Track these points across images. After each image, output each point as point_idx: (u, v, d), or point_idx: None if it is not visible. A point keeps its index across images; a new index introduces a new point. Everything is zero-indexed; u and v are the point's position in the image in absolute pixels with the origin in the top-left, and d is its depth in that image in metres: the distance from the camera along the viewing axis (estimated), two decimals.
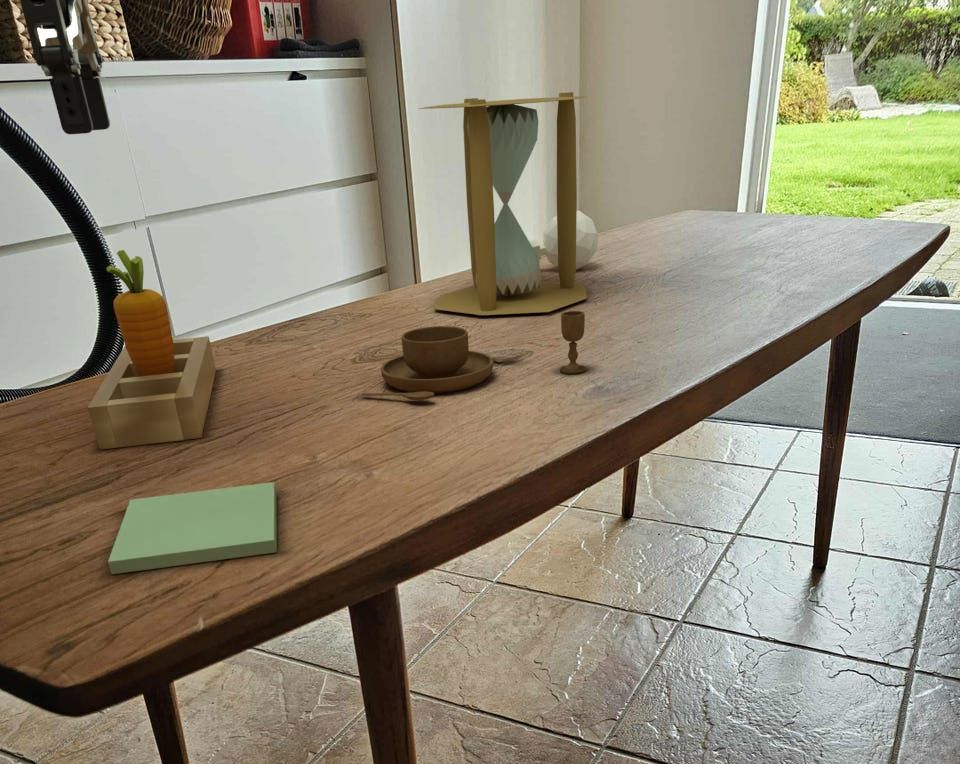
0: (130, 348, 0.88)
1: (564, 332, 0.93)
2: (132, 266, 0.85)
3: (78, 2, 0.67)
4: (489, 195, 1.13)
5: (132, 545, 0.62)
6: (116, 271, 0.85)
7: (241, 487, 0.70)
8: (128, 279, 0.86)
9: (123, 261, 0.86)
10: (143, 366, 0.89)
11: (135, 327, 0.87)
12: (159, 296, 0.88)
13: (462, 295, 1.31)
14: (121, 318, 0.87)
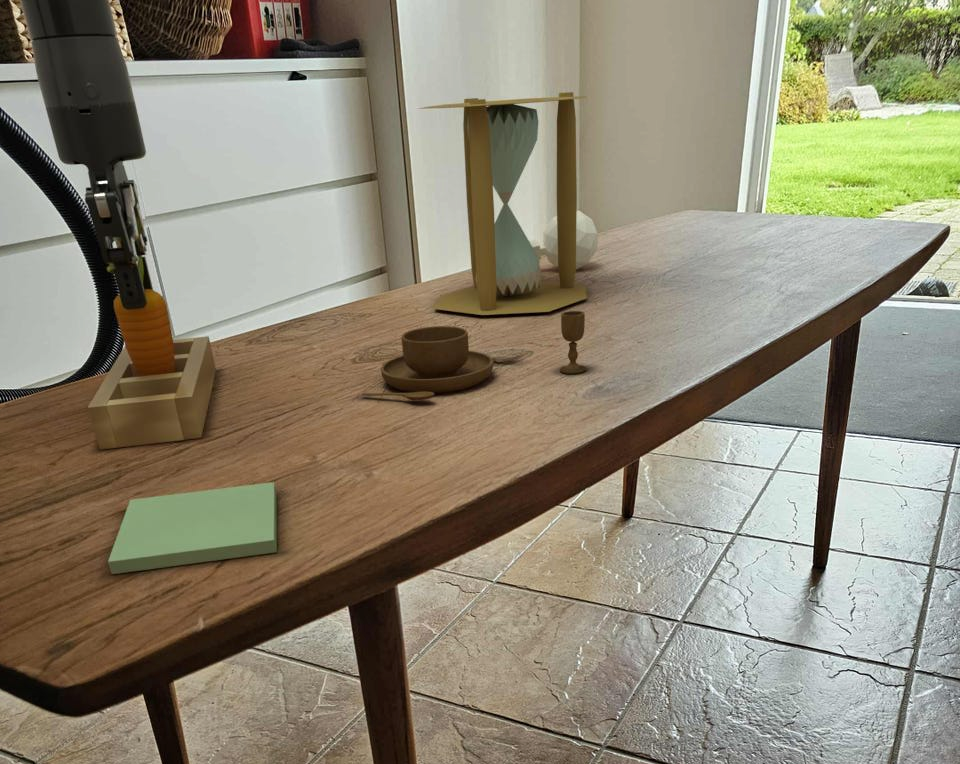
0: (130, 348, 0.88)
1: (564, 332, 0.93)
2: None
3: (133, 200, 0.82)
4: (489, 195, 1.13)
5: (132, 545, 0.62)
6: None
7: (241, 487, 0.70)
8: None
9: None
10: (143, 366, 0.89)
11: (135, 327, 0.87)
12: (159, 296, 0.88)
13: (462, 295, 1.31)
14: (121, 318, 0.87)
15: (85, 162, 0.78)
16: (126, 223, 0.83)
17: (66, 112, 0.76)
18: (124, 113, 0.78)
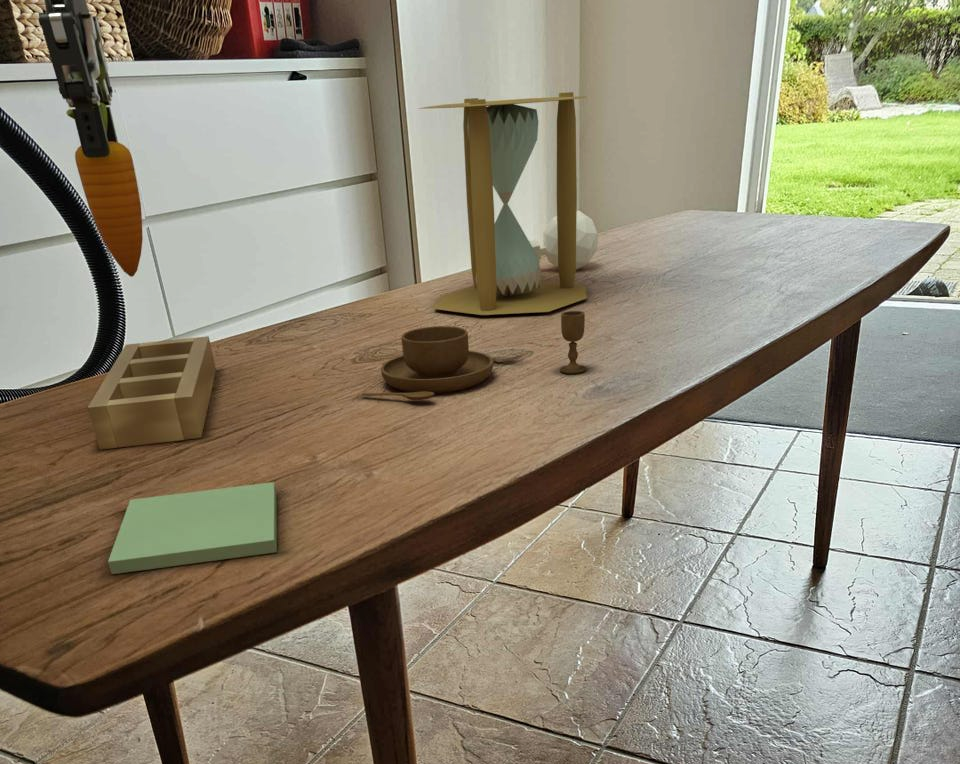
0: (93, 205, 0.82)
1: (564, 332, 0.93)
2: None
3: (93, 32, 0.75)
4: (489, 195, 1.13)
5: (132, 545, 0.62)
6: None
7: (241, 487, 0.70)
8: None
9: None
10: (107, 227, 0.83)
11: (98, 180, 0.80)
12: (124, 148, 0.81)
13: (462, 295, 1.31)
14: (83, 170, 0.80)
15: None
16: (86, 58, 0.76)
17: None
18: None
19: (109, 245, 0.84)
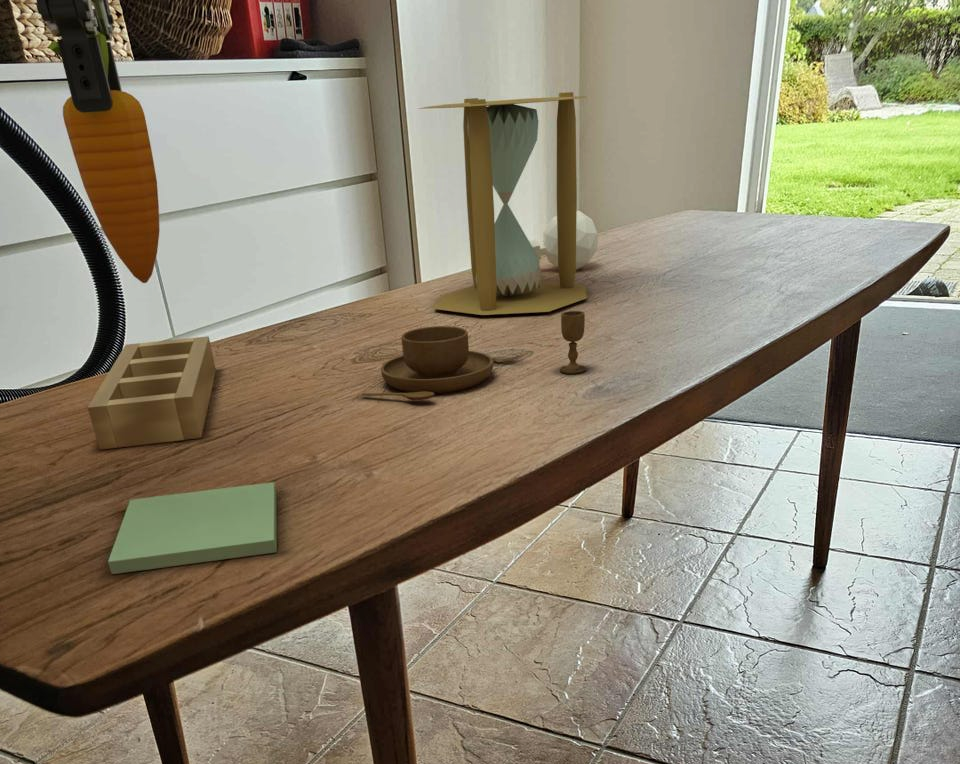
0: (90, 182, 0.57)
1: (564, 332, 0.93)
2: None
3: None
4: (489, 195, 1.13)
5: (132, 545, 0.62)
6: None
7: (241, 487, 0.70)
8: None
9: None
10: (110, 213, 0.58)
11: (96, 146, 0.56)
12: (134, 100, 0.57)
13: (462, 295, 1.31)
14: (74, 131, 0.56)
15: None
16: None
17: None
18: None
19: (113, 239, 0.60)
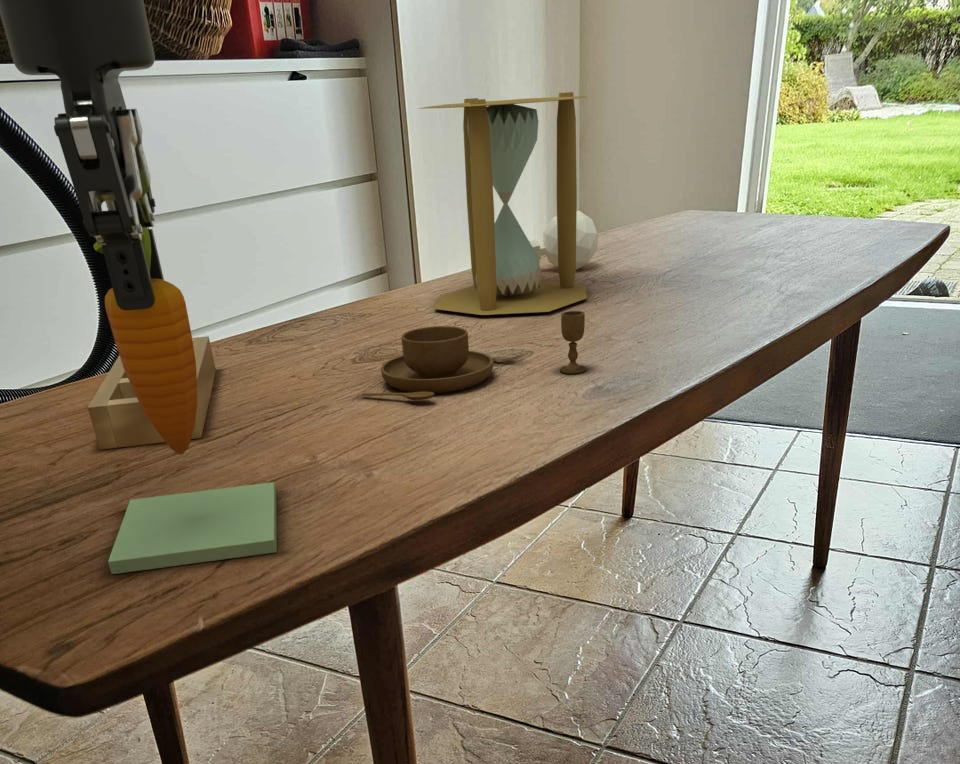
0: (130, 369, 0.58)
1: (564, 332, 0.93)
2: None
3: (134, 136, 0.51)
4: (489, 195, 1.13)
5: (132, 545, 0.62)
6: None
7: (241, 487, 0.70)
8: None
9: None
10: (150, 397, 0.59)
11: (138, 337, 0.56)
12: (175, 289, 0.57)
13: (462, 295, 1.31)
14: (116, 323, 0.56)
15: (55, 67, 0.47)
16: (123, 173, 0.52)
17: None
18: None
19: (152, 419, 0.60)
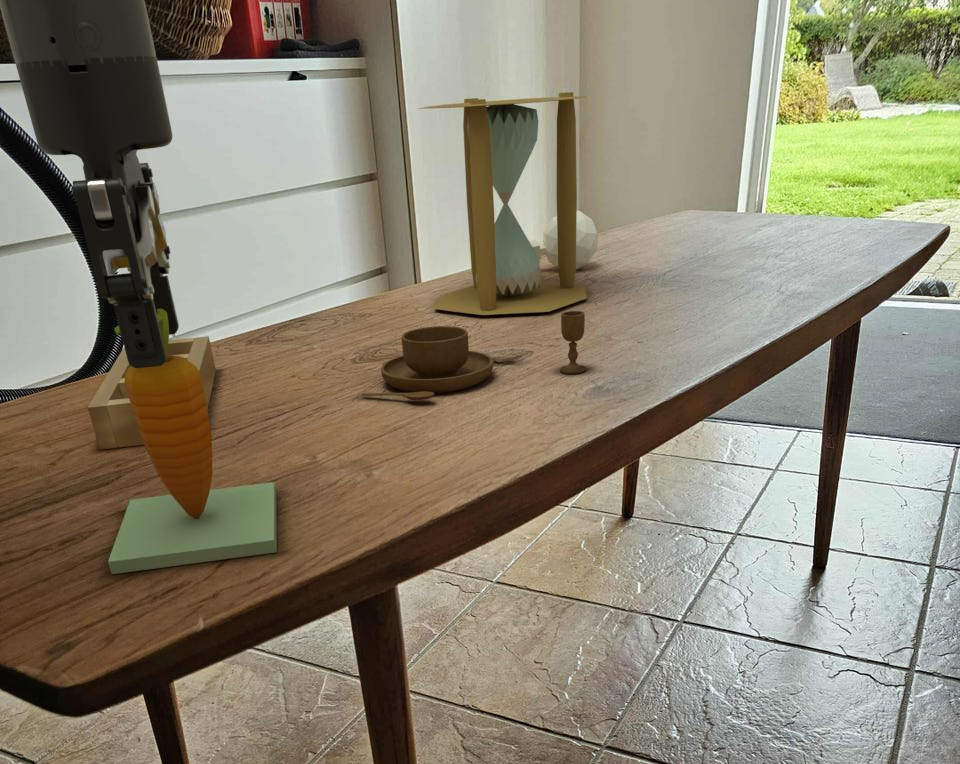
0: (149, 442, 0.60)
1: (564, 332, 0.93)
2: None
3: (151, 208, 0.53)
4: (489, 195, 1.13)
5: (132, 545, 0.62)
6: None
7: (241, 487, 0.70)
8: None
9: None
10: (167, 467, 0.61)
11: (156, 413, 0.59)
12: (192, 367, 0.59)
13: (462, 295, 1.31)
14: (136, 400, 0.59)
15: (78, 151, 0.49)
16: None
17: (47, 70, 0.48)
18: (140, 74, 0.49)
19: (169, 487, 0.62)
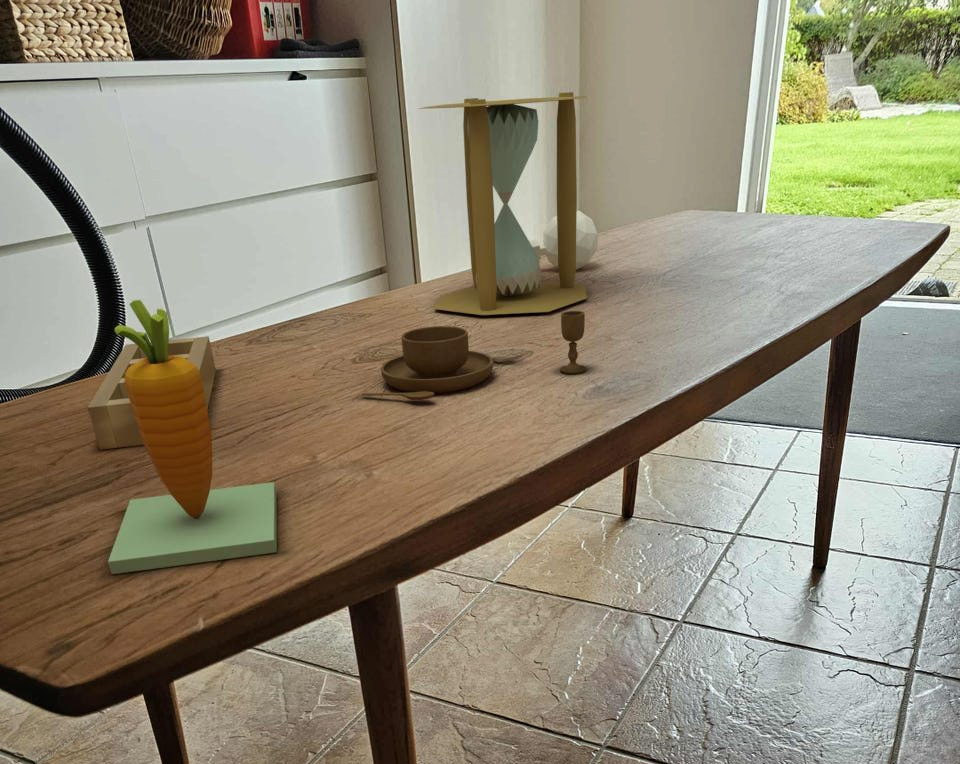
0: (149, 442, 0.60)
1: (564, 332, 0.93)
2: (153, 325, 0.56)
3: None
4: (489, 195, 1.13)
5: (132, 545, 0.62)
6: (129, 333, 0.57)
7: (241, 487, 0.70)
8: (146, 343, 0.58)
9: (139, 316, 0.58)
10: (167, 467, 0.61)
11: (156, 413, 0.59)
12: (192, 367, 0.59)
13: (462, 295, 1.31)
14: (136, 400, 0.59)
15: None
16: None
17: None
18: None
19: (169, 487, 0.62)
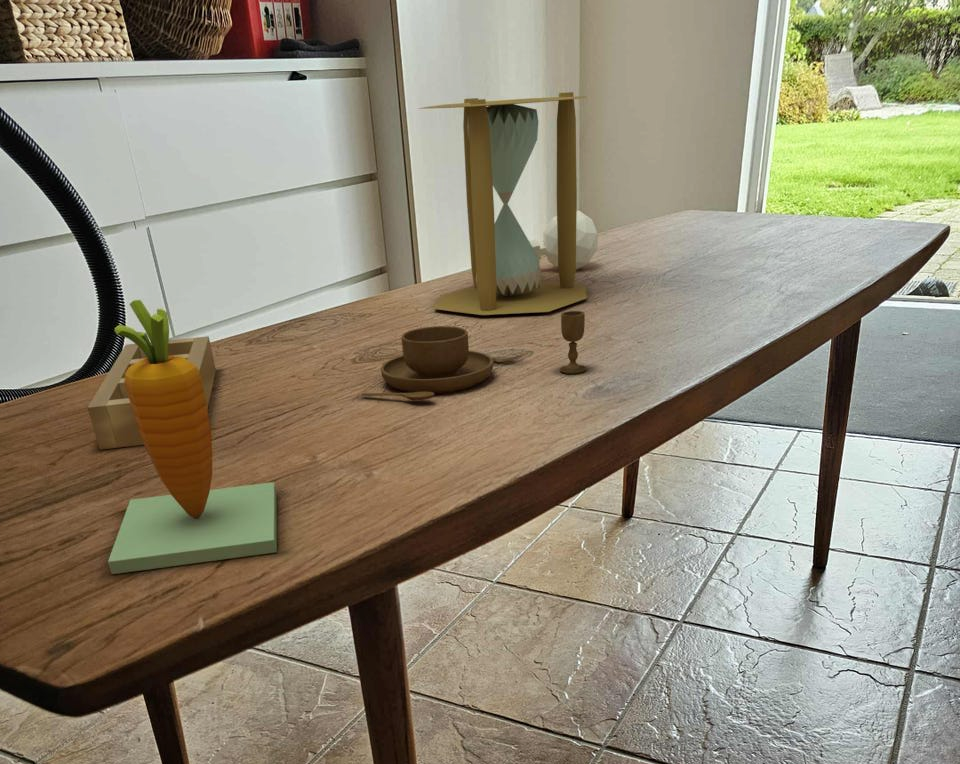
0: (149, 442, 0.60)
1: (564, 332, 0.93)
2: (153, 325, 0.56)
3: None
4: (489, 195, 1.13)
5: (132, 545, 0.62)
6: (129, 333, 0.57)
7: (241, 487, 0.70)
8: (146, 343, 0.58)
9: (139, 316, 0.58)
10: (167, 467, 0.61)
11: (156, 413, 0.59)
12: (192, 367, 0.59)
13: (462, 295, 1.31)
14: (136, 400, 0.59)
15: None
16: None
17: None
18: None
19: (169, 487, 0.62)
